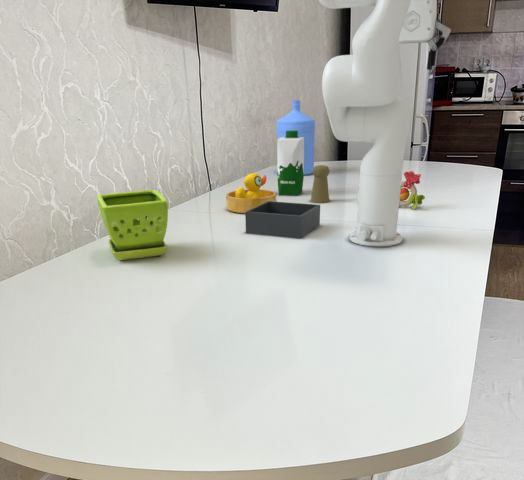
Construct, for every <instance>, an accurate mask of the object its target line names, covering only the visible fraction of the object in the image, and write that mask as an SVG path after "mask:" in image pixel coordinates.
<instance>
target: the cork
mask: <svg viewBox="0 0 524 480" xmlns="http://www.w3.org/2000/svg"><path fill="white" fill-rule="evenodd" d="M329 174H330V168H329V167H328V166H327V165H324V164H320V165H319V164H318V165H314V168H313V173H312V175H313V183H312V189H311V198H310V202H311V203H314V204H326V203H330V193H329V182H328V176H329Z"/></svg>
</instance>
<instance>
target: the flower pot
mask: <svg viewBox="0 0 524 480" xmlns="http://www.w3.org/2000/svg"><path fill="white" fill-rule="evenodd" d="M96 199H97V204H98V208H99V212H100V215H101V219H102V222H103V224H104V227H105V229H106V232H107V234H108V236H109V238H110V239H108V240H107V242H108V245H109V249H110V251H111V252H112V254H113V257H115V258H116V259H117V260H119V261H125V260H134V259H143V258H150V257H161V256H162V255H163V254H164V253H165V252H166V251H167V250H168V245H167V244H166V242H165V241H164V240H165V237H166V233H167V229H168V228H167V227H168V221H169V217H168V216H169V205H168V200H167V198H166V197H165V196H164V195H163V194H162V193H161V192H160V191H158V190H156V189H147V190H134V191H124V192H123V191H121V192H113V193H105V194H97V196H96Z"/></svg>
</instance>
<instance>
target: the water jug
mask: <svg viewBox="0 0 524 480" xmlns="http://www.w3.org/2000/svg"><path fill="white" fill-rule="evenodd" d="M291 102H292V105H291V109H292V110H291V112H289V113H287V114H286V115H284V116H282V117H281V118H279V119H277V122H276V133H277V134H276V135H277V136H276V137H277V139H279V138H282V137H286V131H298V137H304V176H309V175H313V168H314V167H315V164H314V163H315V148H316V147H315V131H316V120H315V119H314V118H313V117H311V116H309V115H307V114H306V113H304V112H301V100H299V99H297V100H291Z"/></svg>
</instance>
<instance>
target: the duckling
mask: <svg viewBox="0 0 524 480" xmlns="http://www.w3.org/2000/svg"><path fill="white" fill-rule="evenodd" d="M266 182H267V176H266V175H265V174H264V175H262V176H261V175H260V174H258V173H255V172H251V173H249V174H247V175H246V177H244V179H243V185H244V187H245V188H244V187H242V186H240V187H237V188H236V190H235V191H236V198H263V194H262V192H261V190H262V189H261V187H262V186H264V185H265V184H266ZM245 190H249V191H248V192H247V194H246V193H245Z"/></svg>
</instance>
